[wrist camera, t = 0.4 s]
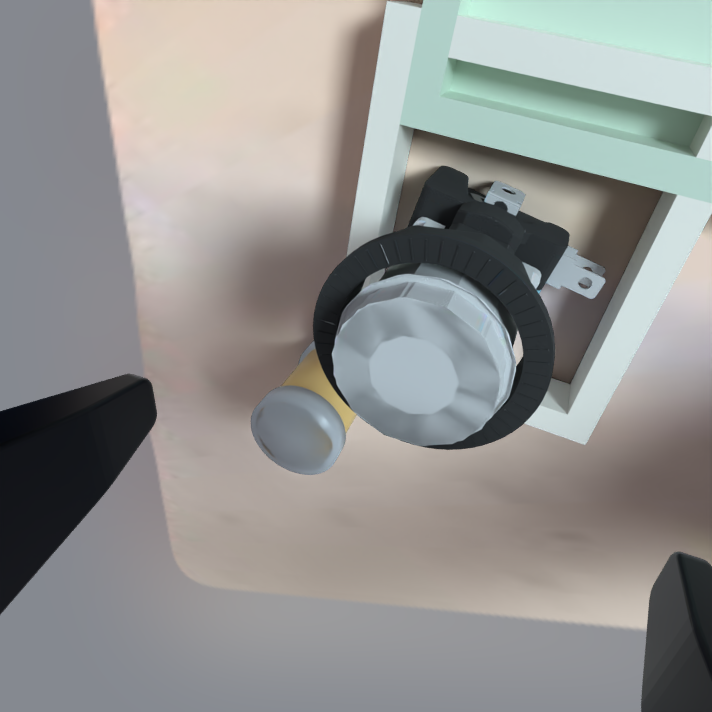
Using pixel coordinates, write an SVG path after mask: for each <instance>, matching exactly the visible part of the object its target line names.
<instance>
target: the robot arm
mask: <svg viewBox="0 0 712 712" xmlns="http://www.w3.org/2000/svg"><path fill="white" fill-rule="evenodd" d="M156 418H157V410H156V404H155V399H154V393H153V387H152V384H151V382H150V381H149V380H148V379H146V378H143V377H140V376H136V375H134V374H126V375H122V376H119V377H115V378H112V379H108V380H105V381H101V382H98V383H95V384H91V385H88V386H85V387H81V388H78V389H74V390H71V391H68V392H65V393H61V394H58V395H54V396H51V397H47V398H44V399H40V400H37V401H34V402H30V403H27V404H23V405H20V406H17V407H13V408H10V409H6V410H3V411H0V614H1V613H2V612H3V611H4V610H5V609H6V608H7V606H8V605H9V604H10V603H11V602H12V601H13V599H14V598H15V597H16V596H17V595H18V594H19V592H20V591H21V590H22V589H23V588H24V587H25V586H26V584H27V583H28V582H29V581H30V580H31V579H32V577H33V576H34V575H35V574H36V573H37V572H38V570H39V569H40V568H41V567H42V566H43V565H44V564H45V562H46V561H47V560H48V559H49V558H50V556H51V555H52V554H53V553H54V552H55V551H56V550H57V548H58V547H59V546H60V545H61V544H62V543H63V542H64V540H65V539H66V538H67V537H68V536H69V535H70V533H71V532H72V531H73V530H74V529H75V528H76V527H77V525H78V524H79V523H80V522H81V521H82V520H83V518H84V517H85V516H86V515H87V514H88V513H89V511H90V510H91V509H92V508H93V507H94V506H95V504H96V503H97V502H98V501H99V500H100V499H101V497H102V496H103V495H104V494H105V493H106V491H107V490H108V489H109V488H110V486H111V485H112V484H113V482H114V481H115V480H116V478H117V477H118V475H119V474H120V472H121V471H122V470H123V468H124V467H125V465H126V464H127V462H128V461H129V460H130V458H131V457H132V455H133V454H134V453H135V451H136V450H137V448H138V447H139V446H140V444H141V443H142V441H143V440H144V439H145V437H146V436H147V434H148V433H149V431H150V430H151V429H152V427H153V425H154V423H155V421H156ZM641 700H642V701H641V712H712V566H711V565H710V564H709V563H708V562H707V561H705V560H704V559H701V558H698V557H695V556H692V555H689V554H686V553H683V552H674V553H673V554H672V555H671V556H670V557H669V559H668V561H667V563H666V564H665V566H664V568H663V569H662V571H661V573H660V575H659V576H658V578H657V580H656V582H655V583H654V585H653V588H652V590H651V594H650V600H649V611H648V623H647V637H646V648H645V660H644V671H643V685H642V699H641Z"/></svg>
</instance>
